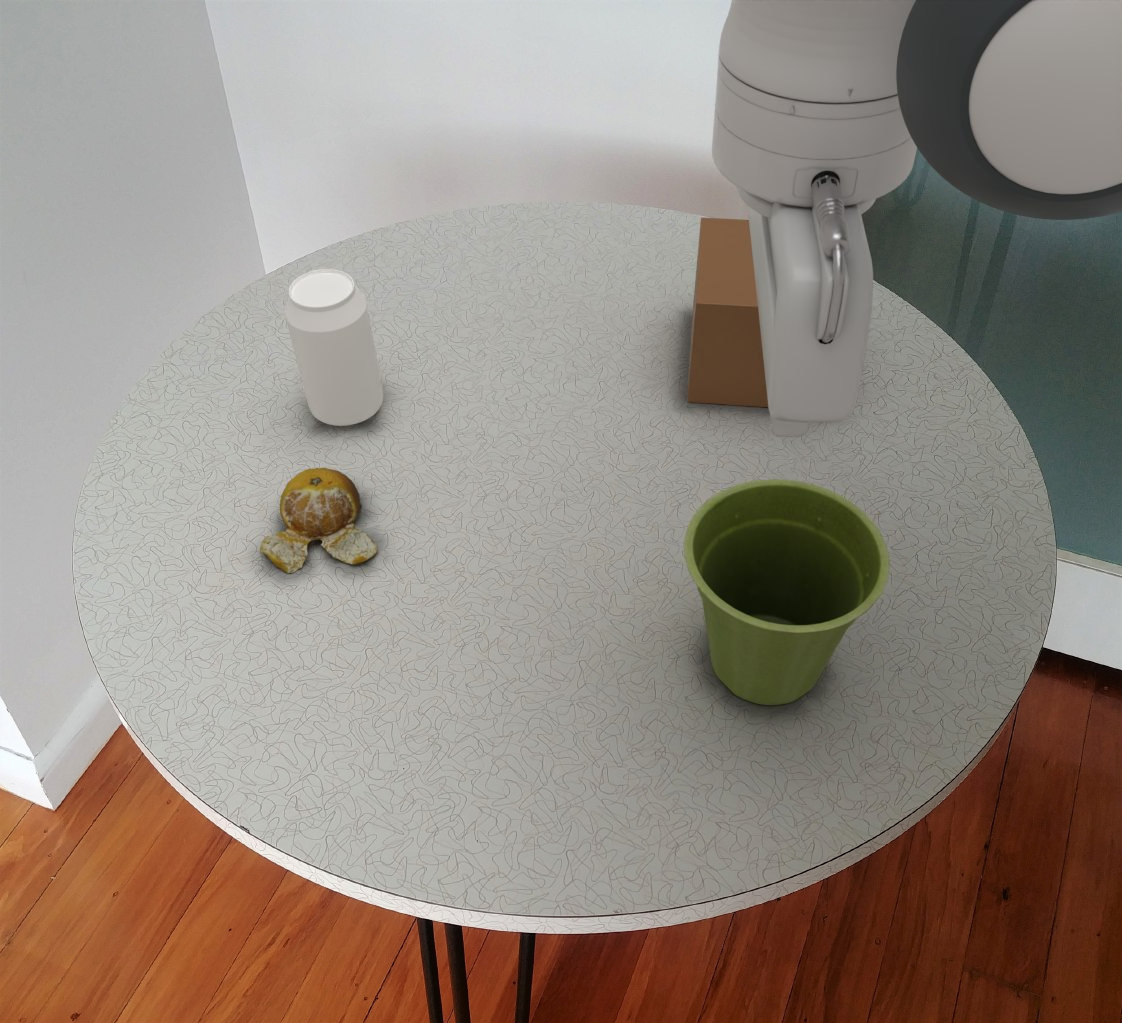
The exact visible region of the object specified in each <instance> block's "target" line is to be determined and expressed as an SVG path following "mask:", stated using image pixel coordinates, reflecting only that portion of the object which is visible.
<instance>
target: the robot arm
mask: <svg viewBox="0 0 1122 1023" xmlns="http://www.w3.org/2000/svg"><path fill="white" fill-rule="evenodd" d="M717 56H718V58H717V73H716V87H715V88H716V89H715V102H714V111H713V112H714V113H713V127H712V140H711V142H712V143H711V155H712V156H711V157H712V159H713V163H714V165H715V167H716V169H717V170H718V171H719V172H720V174H721V175H722V176H723V177H724V178H725V179H726V180H728V182H730V183H731V184H733V185H734V186H735V187H736V189H737V194H738V195H739V197H740V199H741V200H742V201H743V202H744V203H745V205H746V206H747V214H748V215H747V216H748V220H749V226H750V235H751V245H752V254H753V264H754V273H755V283H756V292H757V302H758V312H759V321H760V331H761V340H762V350H763V359H764V369H765V379H766V388H767V398H768V407H767V408H768V411H769V418H770V419H769V420H770V431H771V433H772V435H773V436H776V437H778V438H800V437H804V436H806V434H807V433H808V432H809V429H810V424H811V423H812V424H817V423H818V424H819V423H821V424H822V423H823V424H824V423H838V422H839V423H840V422H842V421H844V420H846V419H847V418H848V417H850V416H851V415H852V414H853V412H854V411H855V409H856V406H857V402H858V398H859V393H860V387H861V381H862V374H863V371H864V364H865V358H866V351H867V345H868V340H869V339H868V338H869V332H870V327H871V319H872V311H873V302H874V301H873V299H874V268H873V261H872V256H871V252H870V251H871V250H870V248H869V242H868V238H867V234H866V229H865V225H864V221H863V220H864V219H863V216H862V215H863V214H865V212H867V211H868V210H870V208H872V206H873V205H874V203H875V202H876V201H877V199H879V198H881V197H883V196H885V195H887V194H889V193H891V192H892V191H894V190H895V189H897V188H898V187H900V186H901V185H902V184H903V183H904V182H905V181H906V180H907V178H908V177H909V175H910V174H911V172H912V170H913V167H914V163H915V159H916V155H917V152H920V154H921V155H922V157H923V158H924V159H925V161H926V162H927V163H928V164H929V165H930V167H931V168H932V169H933V170H934V171H935V172H936V173H937V174H938V175H939V176H940V177H942V179H943V180H945V181H946V182H947V183H948V184H950V185H951V186H952V187H954V188H955V189H957V190H958V191H960V192H961V193H963V194H964V195H966V196H968V197H969V198H971V199H973V200H975V201H977V202H979V203H981V204H984V205H985V206H988V207H991V208H993V209H996V210H997V211H1002V212H1005V213H1008V214H1012V215H1016V216H1020V217H1026V218H1031V219H1040V220H1051V221H1073V220H1087V219H1094V218H1100V217H1101V218H1102V217H1106V216H1110V215H1114V214H1119V213H1122V0H731V2H730V6H729V10H728V14H727V16H726V19H725V21H724V24H723V27H722V31H721V34H720V39H719V45H718V54H717ZM917 150H918V151H917Z"/></svg>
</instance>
